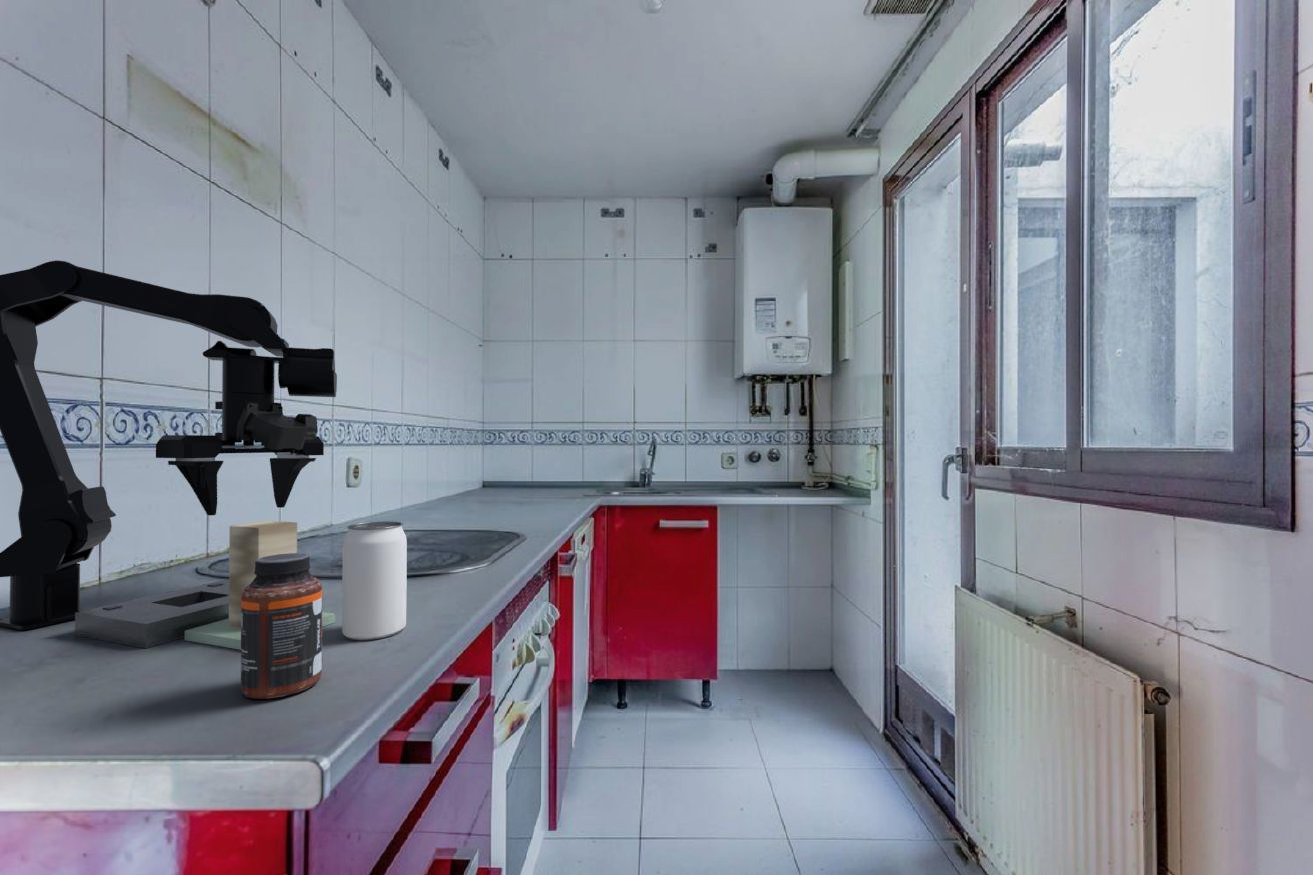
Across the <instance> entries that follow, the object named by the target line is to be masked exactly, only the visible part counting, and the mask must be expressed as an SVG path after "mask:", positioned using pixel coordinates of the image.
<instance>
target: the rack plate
mask: <svg viewBox="0 0 1313 875" xmlns="http://www.w3.org/2000/svg"><path fill="white" fill-rule="evenodd" d="M225 619H229V579H223V580H219V581H214V582H210V583H206V584H201V585H196V586H191V587H187V588H182V589H178V590H173V591H168V592H163V593H159V594H154V595H151V596H150V595H149V596H144V597H141V598H135V599H132V600H126V601H121V602H118V603H112V604H107V605H103V606H99V607H94V608H90V609H89V610H84V611H80V612H75V619H74V636H76V637H83V638H89V639H92V640H99V641H104V642H109V643H115V644H120V645H127V646H131V647H137V648H142V649H148V648H152V647H156V646H159V645H162V644H166V643H169V642H173V641H176V640H179V639H183V638H184V639H185V631H186V630H189V629H193V628H196V627H200V626H203V625H207V624H211V623H214V622H218V621H221V620H225Z"/></svg>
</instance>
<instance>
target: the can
mask: <svg viewBox="0 0 1313 875" xmlns="http://www.w3.org/2000/svg"><path fill="white" fill-rule="evenodd" d="M403 524H404V523H403V522H401V521H391V520H390V521H389V520H388V521H384V520H383V521H368V522H359V523H353V524H349V525H347V528H346V529H347V532H346V533H345V535H344V537H343V540H342V563H341V564H342V565H341V566H342V567H341V568H342V575H341V576H342V581H341V583H342V584H341V586H342V587H341V589H342V590H341V594H342V595H341V596H342V597H341V598H342V599H341V609H342V610H341V613H342V616H341V627H342V629H341V630H342V631H341V632H342V635H343V636H345V638H346V639H349V640H352V641H358V642H359V641H373V640H374V641H375V640H376V641H377V640H381V639H385V638H390V637H394V636H395V635H397V634H399V633H401V632H402V631H403V630H404V628H405V627H406V626H407V591H408V590H407V584H408V583H407V579H408V578H407V572H408V570H407V568H408V566H407V564H408V563H407V562H408V561H407V560H408V559H407V558H408V557H407V551H408V550H407V548H408V547H407V545H408V544H407V535H406V533H405V531H404V529H403Z"/></svg>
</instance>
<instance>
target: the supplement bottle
mask: <svg viewBox="0 0 1313 875" xmlns="http://www.w3.org/2000/svg"><path fill="white" fill-rule="evenodd" d="M310 569H311V561H310V554H307V553H305V552H304V553H303V552H299V553H298V552H297V553H288V554H278V555H271V556H266V557H262V558H259V559H257V560H256V561H255V572H254V574H255V575H256V578H255V579H254V580H253V581H252V583H251V584H250V585H248V586H247V587H246V588H245V589H244V591H243V592H242V597H241V650H240V687H241V693H242V694H243V695H244V696H245V697H247V698H251V699H256V700H261V699H262V700H268V699H271V700H272V699H279V698H284V697H287V696H291V695H294V694H297V693H300V692H304V691H306V690H308V689H309V688H311V687H313V686H314V685H315V684H317V683H318V682H319V681H320V679H321V678H322V676H323V674H322V673H323V627H322V612H323V586H322V583H321V580H320V579H318V577H315V576H312V574H311V572H310Z"/></svg>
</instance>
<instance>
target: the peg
mask: <svg viewBox="0 0 1313 875" xmlns="http://www.w3.org/2000/svg"><path fill="white" fill-rule="evenodd" d="M228 546H229V550H228V551H229V552H228V553H229V554H228V558H229V559H228V560H229V561H228V563H229V564H228V574H229V576H228V580H229V626H234V627H240V628H241V597H242V592H243V591H244V589H245V588H246V587H247V586H248V585H250V584H251V583H252V581H253V580H254V579H255V578H256V575H255V574H254V572H255V561H256V560H257V559H259V558H262V557H266V556H271V555H278V554H288V553H298V522H295V521H280V520H279V521H277V520H263V521H256V522H249V523H241V524H234V525H229V545H228Z"/></svg>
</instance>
